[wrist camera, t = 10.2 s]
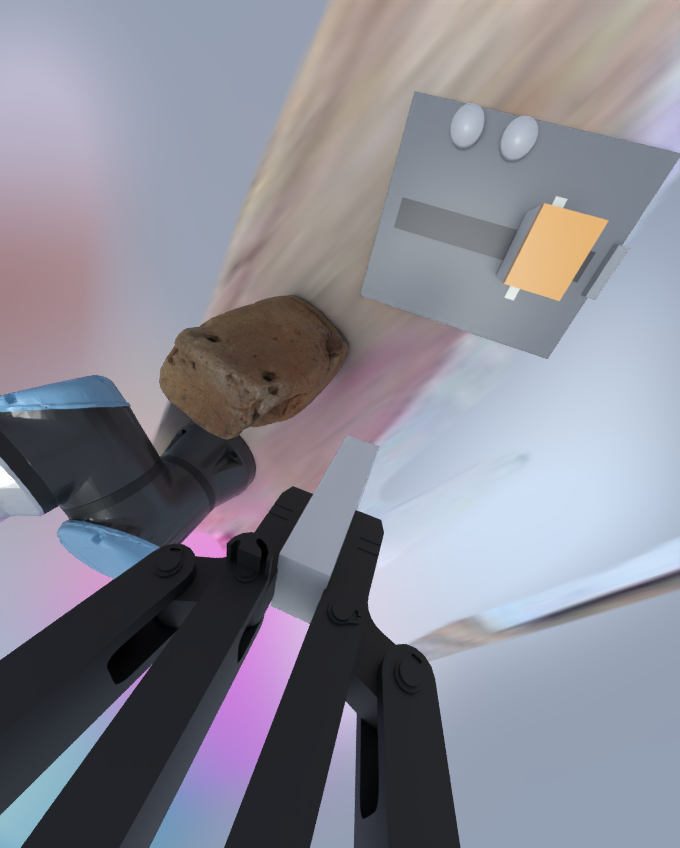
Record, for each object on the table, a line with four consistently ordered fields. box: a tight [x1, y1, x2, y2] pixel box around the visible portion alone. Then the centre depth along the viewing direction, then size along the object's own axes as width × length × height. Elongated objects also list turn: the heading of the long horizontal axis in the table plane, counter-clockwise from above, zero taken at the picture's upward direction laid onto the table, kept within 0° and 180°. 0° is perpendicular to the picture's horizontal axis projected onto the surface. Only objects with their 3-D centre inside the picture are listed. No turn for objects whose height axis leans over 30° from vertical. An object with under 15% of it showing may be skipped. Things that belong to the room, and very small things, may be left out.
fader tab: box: [496, 203, 609, 301], centre depth 24 cm, size 4×5×7 cm
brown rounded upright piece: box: [159, 296, 348, 440], centre depth 32 cm, size 11×8×20 cm
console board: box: [360, 92, 680, 359], centre depth 29 cm, size 20×16×4 cm
